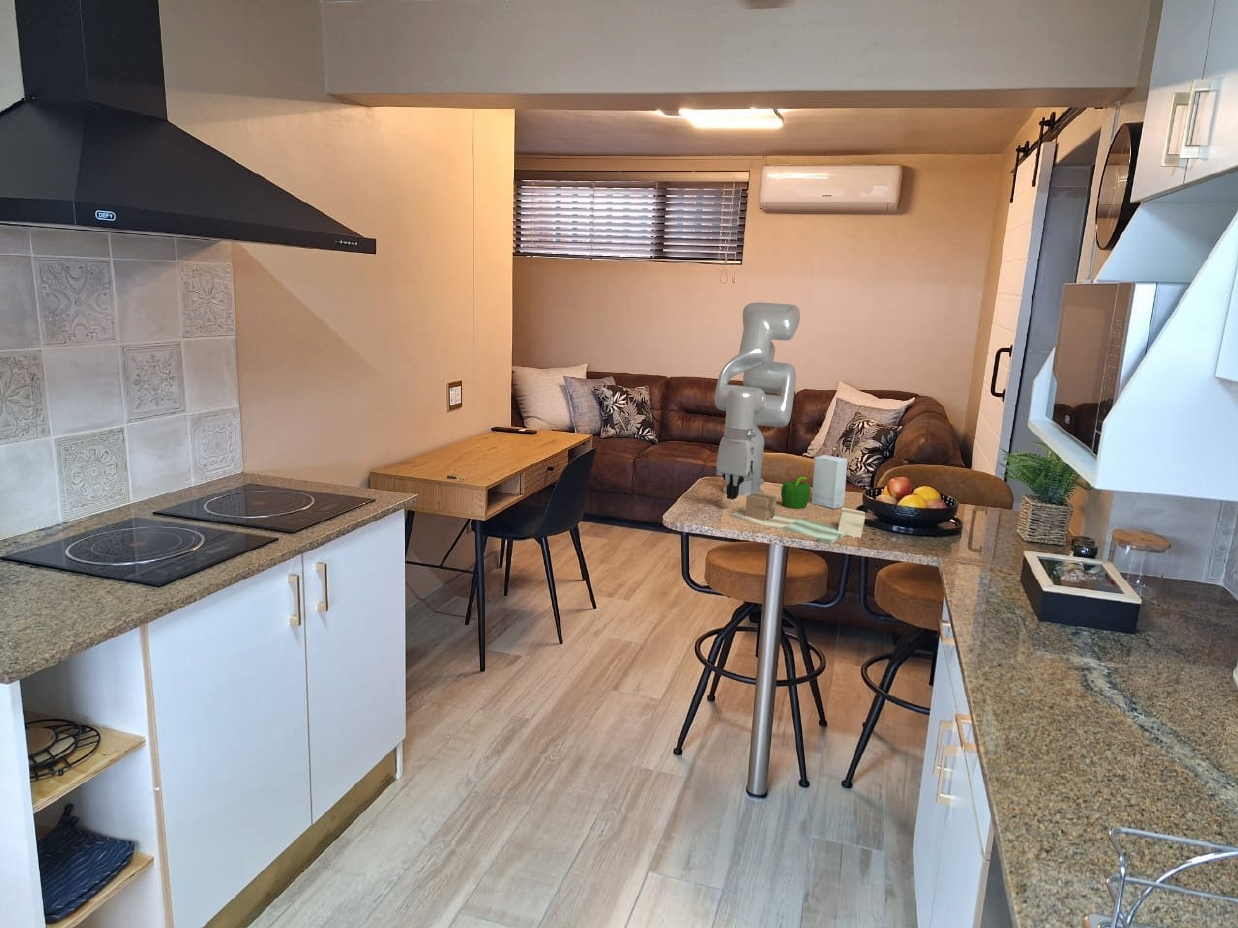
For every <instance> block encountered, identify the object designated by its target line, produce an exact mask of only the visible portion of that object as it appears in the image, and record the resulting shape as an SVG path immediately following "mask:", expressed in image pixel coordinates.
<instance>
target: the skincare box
mask: <svg viewBox="0 0 1238 928" xmlns="http://www.w3.org/2000/svg"><path fill="white" fill-rule="evenodd" d="M847 467H848V458H845V457H838V456H832V455H827V454H823V455H819V456H815V457H814V466H813V479H812V489H811V490H812V491H811V492H812V493H811V504H812V503H813V505H817V506H821V507H825V508H829V509H839V508H844V506H845V498H846V496H845V495H846V486H847V485H846V484H847V471H848V470H847V469H848V468H847Z"/></svg>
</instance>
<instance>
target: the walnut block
mask: <svg viewBox="0 0 1238 928" xmlns="http://www.w3.org/2000/svg"><path fill="white" fill-rule="evenodd" d="M776 503H777V496H776V495H772V494H769V493H768V494H767V493H765V492H764V493H759V492H755V493H753V494H750V495H747V496H746V503H745V508H746V511H745V517H748V518H753V519H757V520H761V521H767V520H769V519H771V518H773V517H774V515H775V513H776Z"/></svg>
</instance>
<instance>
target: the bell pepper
mask: <svg viewBox="0 0 1238 928" xmlns="http://www.w3.org/2000/svg"><path fill="white" fill-rule="evenodd" d="M807 479H808V477H805V476H800V477H798V478H797V479H796V481H795V480H791V481H784V482H783V484H782V486H781V490H780V491H781V492H780V493H781V494H780V495H781V503H782V506H784V507H785V508H786V509H787V508H788V509H791V510H793V509H794V510H800V509H802V510H804V509H806V508H807V505H808V503H809V500H810V497H811V492H812V491H811V490H812V489H811V486H810V485H809V483H808V482H806V481H807ZM801 481H805V482H801Z"/></svg>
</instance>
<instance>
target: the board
mask: <svg viewBox="0 0 1238 928" xmlns="http://www.w3.org/2000/svg"><path fill="white" fill-rule="evenodd" d="M745 511H746V507H745V508H743V509H740V510H738V511H736V512H732V513H730V514H728V515H726V517H728V518H732V519H736V520H740V521H746V522H749V523H753V524H757V525H762V526H766V527H771V528H775V529H779V530H783V531H787V532H791V533H797V534H801V535H803V536H804V535H805V536H809V537H813V538H817V539H815V542H818V543H823V544H828V545H832V544H833V543H835V542H837V541H839V540H841V539H842V538H844V537H846V536H845V532H839V531H838V525H831V524H826V523H823V522H819V521H814V520H810V519H804V518H800V517H796V516H792V515H791V516H790V515H786V514H783V513H778V512H775V515H774V517H773V518H771V519H769V520H767V521H761V520H757V519H753V518H748V517H745ZM843 536H844V537H843ZM838 539H839V540H838ZM836 540H837V541H836ZM834 541H835V542H834Z"/></svg>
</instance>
